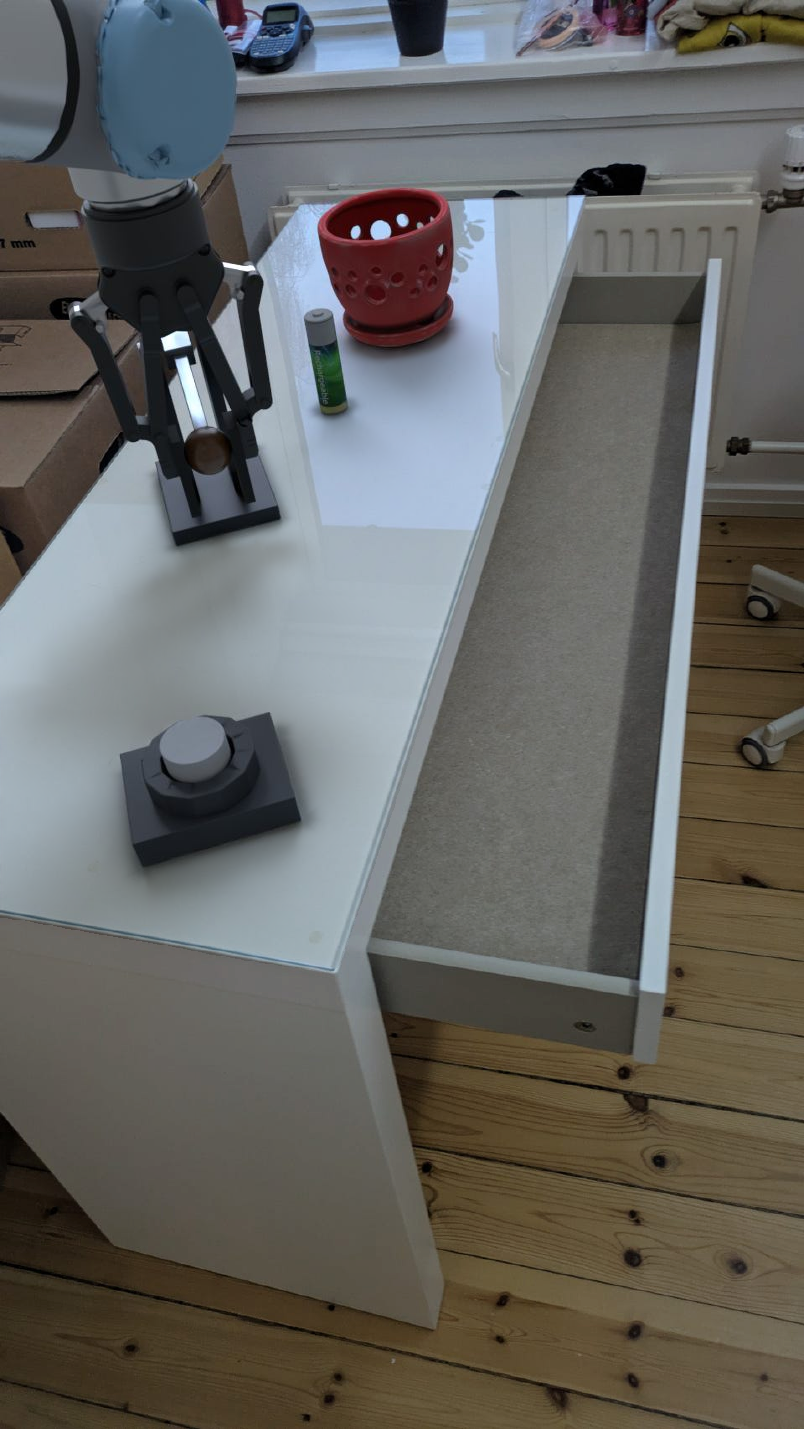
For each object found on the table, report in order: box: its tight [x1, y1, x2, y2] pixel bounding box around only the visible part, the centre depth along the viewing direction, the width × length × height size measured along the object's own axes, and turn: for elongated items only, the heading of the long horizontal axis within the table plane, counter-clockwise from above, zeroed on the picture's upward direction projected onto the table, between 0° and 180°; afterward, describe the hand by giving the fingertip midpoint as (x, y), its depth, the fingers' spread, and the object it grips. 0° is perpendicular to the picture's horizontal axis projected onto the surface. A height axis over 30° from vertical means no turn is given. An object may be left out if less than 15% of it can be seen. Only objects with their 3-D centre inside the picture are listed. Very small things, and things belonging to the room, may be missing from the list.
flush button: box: [160, 716, 231, 783], centre depth 67 cm, size 4×4×2 cm
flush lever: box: [161, 331, 232, 475], centre depth 84 cm, size 13×4×4 cm, turn 16°
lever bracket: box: [136, 331, 282, 546], centre depth 90 cm, size 12×9×16 cm
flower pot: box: [316, 187, 455, 348], centre depth 110 cm, size 13×13×12 cm
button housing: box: [119, 711, 302, 868], centre depth 68 cm, size 10×8×4 cm
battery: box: [303, 307, 349, 416], centre depth 101 cm, size 3×3×10 cm
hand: (221, 500), depth 85 cm, fingers closed on flush lever, 4 cm apart
